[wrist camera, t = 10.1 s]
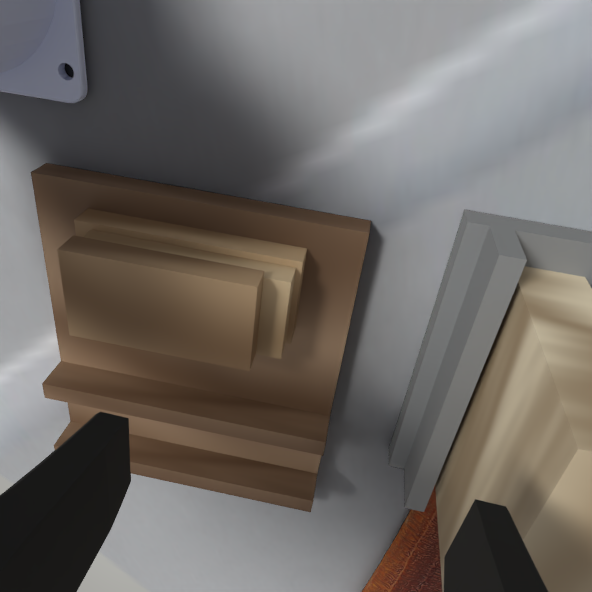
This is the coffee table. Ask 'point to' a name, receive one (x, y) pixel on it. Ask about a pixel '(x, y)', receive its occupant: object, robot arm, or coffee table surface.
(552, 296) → the birch panel
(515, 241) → the grey channel block
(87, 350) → the walnut rack
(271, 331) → the offcut stack
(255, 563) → the coffee table surface
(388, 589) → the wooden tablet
